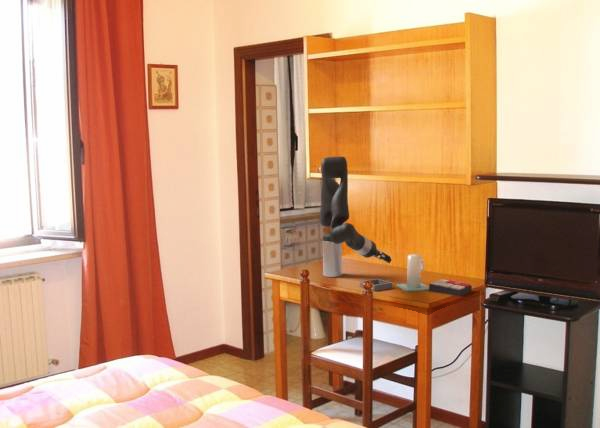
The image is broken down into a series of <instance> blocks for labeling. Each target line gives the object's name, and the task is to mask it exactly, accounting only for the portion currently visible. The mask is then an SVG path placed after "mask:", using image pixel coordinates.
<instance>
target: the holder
mask: <svg viewBox="0 0 600 428" xmlns="http://www.w3.org/2000/svg"><path fill="white" fill-rule="evenodd" d="M365 281H371V282H372V283H373V289H372V290H373V292H378V291H382V290H390V289H393V287H394V286H393V285H394V284H393V283H394V282H393V281H388V280H385V279H381V278H373V279H366V280H359V287H360V286H361V287H360V288H362V286H363V283H364V282H365ZM372 290H371V291H372Z"/></svg>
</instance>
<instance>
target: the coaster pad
mask: <svg viewBox="0 0 600 428" xmlns="http://www.w3.org/2000/svg"><path fill="white" fill-rule="evenodd" d="M395 285H396V287H398V288H400V289H401V290H403V291H404V292H418V291H419V292H421V291H422V292H423V291H429V285H427V284H424V283H423V282H421V284H420V287H419V288H410V287H407V283H398V284H395Z"/></svg>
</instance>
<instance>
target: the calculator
mask: <svg viewBox="0 0 600 428" xmlns="http://www.w3.org/2000/svg"><path fill="white" fill-rule="evenodd" d="M428 287H429V290H428V291H429V292H432V293H438V294H439V293H440V294H445V295H451V296H458V297H462V296H464V295H466V294H469V293H471V292H472V291H473V286H472V284H470V283H465V282H460V281H455V280H447V279H443V278H441V279H439V280H435V281H433V282H430V283H429V285H428Z"/></svg>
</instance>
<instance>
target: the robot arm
mask: <svg viewBox="0 0 600 428" xmlns="http://www.w3.org/2000/svg"><path fill="white" fill-rule="evenodd" d="M320 171H321V174H320V175H321V189H320V202H321V203H320V209H319V211H320V212H319V223H320V225H321V226H323V227H329V232H325V233H324V234H323V235H322V276H323V277H328V278H338V277H341V276H343V243H345V245H346V247H348V248H349V249H351V250H353V251H354V252H355V253H357V254H359V255H360V256H362V257H364V258H375V259H377V260H380V261H381V260H382V261H384V262H385V263H387V264H390V263H392V257H391V256H390V255H388V254H386V253H385V252H383V251H381V250H380V249H379V248H377V244H376V243H375V241H373V240H371V239H369V238H368V237H366V236H364V235H362V234H361V233H359V232H358V231H357V229H356V228H355V226H354V224H352V223H350V222H347V221H348V220H349V219H350V211H349V201H348V197H349V196H348V195H349V194H348V190H349V188H348V187H349V181H348V180H349V179H348V178H349V177H348V175H349V174H348V171H349V170H348V162H347V159H346V157H345V156H327V157H324V158H322V160H321V167H320ZM335 179H340V183H339V182H338V181H336V180H335Z"/></svg>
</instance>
